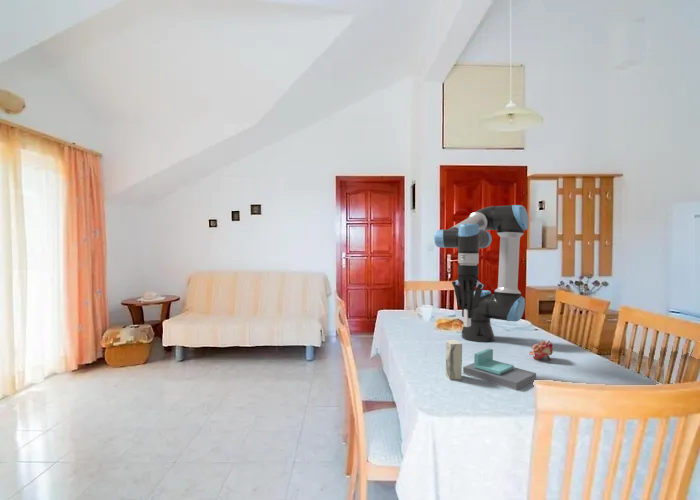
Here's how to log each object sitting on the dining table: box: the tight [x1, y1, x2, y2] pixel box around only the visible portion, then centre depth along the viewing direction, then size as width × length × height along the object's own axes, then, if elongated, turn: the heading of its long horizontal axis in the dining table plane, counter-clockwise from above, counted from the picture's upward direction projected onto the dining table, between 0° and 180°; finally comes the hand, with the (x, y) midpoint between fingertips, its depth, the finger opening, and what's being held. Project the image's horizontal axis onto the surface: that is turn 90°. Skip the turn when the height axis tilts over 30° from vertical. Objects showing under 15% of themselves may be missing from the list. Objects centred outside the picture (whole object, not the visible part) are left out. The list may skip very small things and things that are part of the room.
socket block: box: [462, 362, 537, 391], centre depth 139 cm, size 20×14×2 cm
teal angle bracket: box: [473, 348, 515, 375], centre depth 141 cm, size 10×10×5 cm
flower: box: [528, 340, 554, 362], centre depth 158 cm, size 10×9×8 cm
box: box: [445, 339, 463, 381], centre depth 138 cm, size 5×4×13 cm
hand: (467, 326), depth 148 cm, fingers closed
